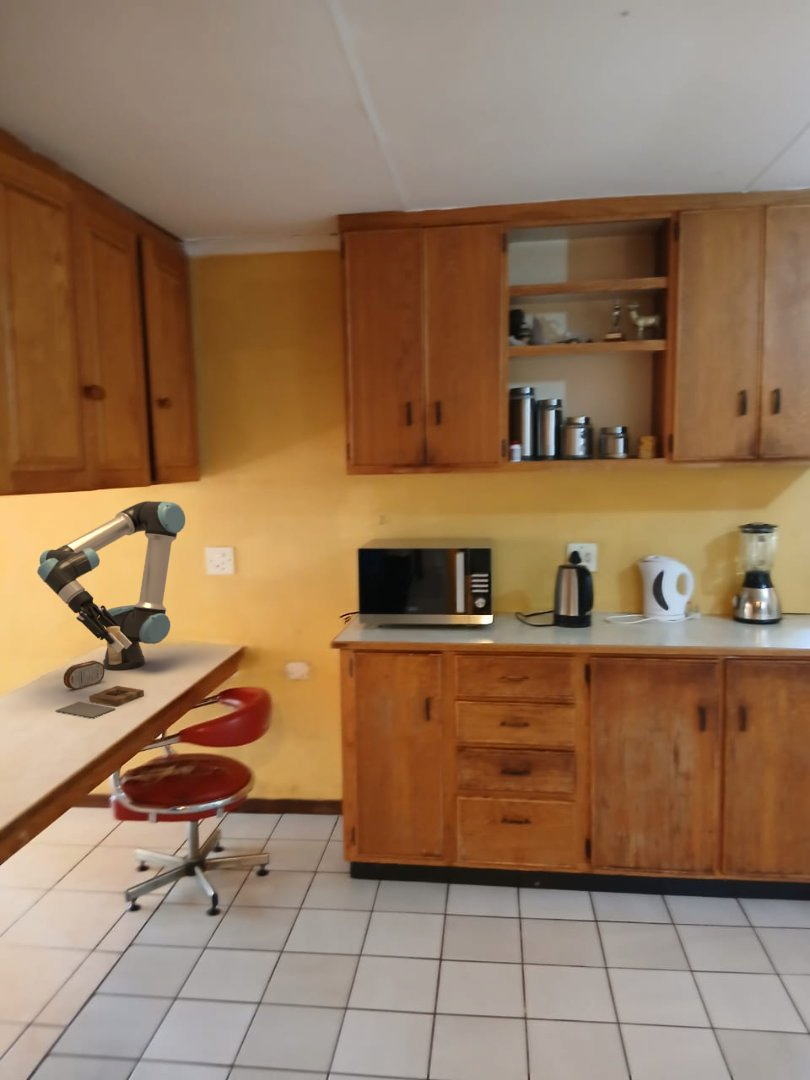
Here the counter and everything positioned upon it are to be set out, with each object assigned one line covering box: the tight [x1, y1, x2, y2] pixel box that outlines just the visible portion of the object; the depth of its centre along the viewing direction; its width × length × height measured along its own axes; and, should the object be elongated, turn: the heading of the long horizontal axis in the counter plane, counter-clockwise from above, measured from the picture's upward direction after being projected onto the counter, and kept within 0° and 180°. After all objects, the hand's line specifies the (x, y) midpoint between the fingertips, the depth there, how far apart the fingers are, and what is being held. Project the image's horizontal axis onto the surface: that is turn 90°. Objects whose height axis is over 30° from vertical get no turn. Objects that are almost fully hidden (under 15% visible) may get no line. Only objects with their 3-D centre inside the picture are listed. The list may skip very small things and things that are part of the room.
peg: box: [107, 626, 122, 665], centre depth 242 cm, size 4×4×12 cm
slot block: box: [88, 685, 145, 708], centre depth 244 cm, size 12×12×2 cm
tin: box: [63, 660, 106, 690], centre depth 258 cm, size 15×3×8 cm, turn 149°
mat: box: [55, 701, 116, 719], centre depth 232 cm, size 9×16×1 cm, turn 66°
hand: (125, 647), depth 241 cm, fingers closed on peg, 4 cm apart
